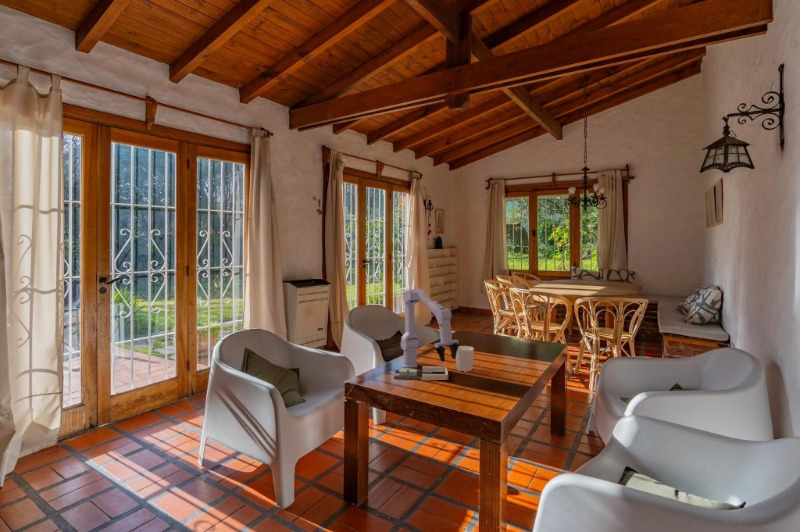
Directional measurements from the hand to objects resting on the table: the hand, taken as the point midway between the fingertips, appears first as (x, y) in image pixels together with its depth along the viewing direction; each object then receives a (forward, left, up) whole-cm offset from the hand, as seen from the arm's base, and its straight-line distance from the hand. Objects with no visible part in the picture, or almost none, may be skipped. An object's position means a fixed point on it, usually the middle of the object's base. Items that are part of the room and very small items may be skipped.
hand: (448, 360), depth 216 cm
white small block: (-6, -23, -11) cm, 26 cm away
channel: (-6, -21, -11) cm, 24 cm away
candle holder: (-18, +10, -11) cm, 23 cm away
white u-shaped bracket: (-6, -7, -11) cm, 14 cm away
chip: (-6, -18, -11) cm, 22 cm away
